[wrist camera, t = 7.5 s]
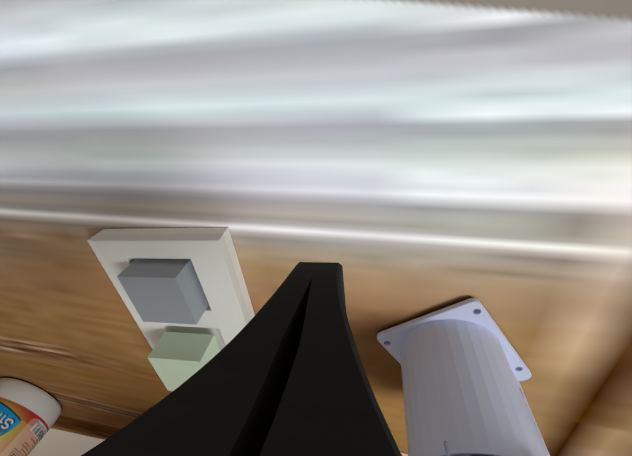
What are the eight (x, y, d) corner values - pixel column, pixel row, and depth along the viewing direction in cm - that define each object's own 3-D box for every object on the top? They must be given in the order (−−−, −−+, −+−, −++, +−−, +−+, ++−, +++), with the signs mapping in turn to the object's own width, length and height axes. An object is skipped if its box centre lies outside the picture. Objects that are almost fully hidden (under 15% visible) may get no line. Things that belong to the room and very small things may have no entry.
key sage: (228, 368, 27) (216, 395, 25) (183, 364, 28) (168, 390, 26) (214, 334, 24) (199, 361, 22) (165, 331, 25) (147, 357, 23)
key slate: (211, 300, 24) (196, 324, 22) (161, 298, 25) (143, 321, 23) (193, 255, 22) (175, 277, 20) (139, 254, 23) (116, 276, 21)
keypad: (281, 403, 32) (278, 419, 31) (196, 395, 34) (188, 409, 33) (228, 227, 21) (218, 240, 20) (103, 228, 23) (87, 240, 22)
